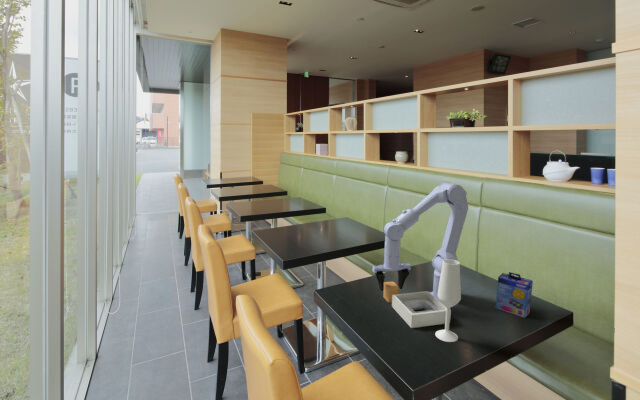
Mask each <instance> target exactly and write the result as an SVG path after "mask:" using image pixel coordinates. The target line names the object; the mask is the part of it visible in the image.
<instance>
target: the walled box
mask: <svg viewBox="0 0 640 400" xmlns="http://www.w3.org/2000/svg"><path fill="white" fill-rule="evenodd" d="M429 292H430V291H428V290H426V291H414V292H407V293H405V292H404V293H399V294H395V295H392V302H391V307H392V309H394V310H395V312H396V313H397V314H398V315H399V316H400V318H402V320H403V321H404V322H405V323H406V324H407V325H408V326H409V327H410V328H411V329H414V328H422V327H423V328H424V327H430V326H435V325H445V320H446V306H445V305H444V304H443V303H442V302H440V301H439V300H438V299H437V298H435V297H434V296H433V295H432V294H431V293H429ZM424 298H426V299H427V300H428V301H429V302H431V303H432V304H433V305H434V306H435V307H436V308H438V309H439V311H430V312H422V313H414V314H413V313H412V312H411V311H410V310H409V309H408V308H407V307H406V306H405V305H404V304H403V303H402V302H401V301H407V300H416V299H424ZM451 315H452V310H451V309H450V319H452V317H451ZM450 323H451V320H450V321H449V324H450Z"/></svg>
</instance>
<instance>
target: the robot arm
mask: <svg viewBox="0 0 640 400" xmlns="http://www.w3.org/2000/svg"><path fill="white" fill-rule="evenodd" d="M467 195H468V192H467V191H466V190H465V188H464V187H463V186H462V185H460V184H455V183H452V182H450V181H443V182H441V183H440V184H439V185H437V186H436V187H434V188H433V189H432V190H431V192H430V193H429V194H427V195H426V196H425V197H424V198H423V199H422V200H421V201H420V202H419V203H417V204H416V205H415V206H414V207H413V208H407V209H403V210H402V211H401V212H402V213H401V214H399V215H398V216H397V217H396V218H393V219H391V220H392V221H390V222H387V223H386V224H385V225H384V227H383V229H382V231H383V233H384V235H385V236H384V237H385V238H384V251H383V252H384V254H383V255H384V256H383V257H384V258H383V264H379V265H373V266H372V269H371V270H372V273H374V274H375V277H376V280H377V283H378V287H379V288H378V289H379V291H380V292H383V289H384V282H385V277H386V275H385V274H384V272H395V271H397V277H398V279H397V285H398V286H399V290H402V289H403V288H404V285H405V282H406V280H407V278H408V277H409V275H410V272H409V271H411V269H412V268H411V264H410V263H400V262H401V245H402V243H401V239H402V238H403V237H404V233H405V232H406V231H407V230H409V229H410V228H411V227H413V226H414V225H415V224H416V223H417V222H419V219H420V216H421V215H422V214H423V213H426V211H428V210H429V209H431V208H432V207H434V205H436V204H441V203H442V204H443V203H446V204H448V206H449V207H450V208H451V210H450V214H449V216H448V217H449V218H448V222H447V225H446V229H445V233H444V235H443V236H444V237H443V239H442V244H441V247H440V248H439V249H438V250H437V251H436V254H435V255H434V257H433V258H432V260H431V266H432V267H433V269H434V271H433V283H432V285H433V286H432V291H428V292H429V293H431V294H432V295H433V296H434V297H435V298H437V299H438V300H439V298H438V296H437V294H438V288H439V281H440V275H441V269H442V263H443V260H445V259H453V260H457V261H458V256H457V249H458V246H459V243H460V239H461V235H462V232H463V229H464V225H465V222H466V218H467V214H468V210H469V204H468V199H467ZM460 284H461V285H462V282H461V280H460ZM439 301H440V300H439ZM440 302H441V301H440ZM441 303H442V302H441Z"/></svg>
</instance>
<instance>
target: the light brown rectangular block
mask: <svg viewBox="0 0 640 400" xmlns="http://www.w3.org/2000/svg"><path fill="white" fill-rule="evenodd" d="M382 292H383V295H382V297H383V299H385V301H386V302H387V303H388V304H392V295H395V294H400V288H399V286H398V283H396V282H394V280H392V281H384V289H383V291H382Z"/></svg>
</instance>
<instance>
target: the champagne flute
mask: <svg viewBox="0 0 640 400" xmlns="http://www.w3.org/2000/svg"><path fill="white" fill-rule="evenodd" d="M460 281H461V263H460V261H457V260H453V259H445V260H443V263H442V269H441V275H440V281H439V288H438V294H437V296H438V298H439V300H440V301H441V303H443V304H444V305H445V306H446V320H445V324H444V329H439V330H437V331H435V334H434V335H435V337H436V338H437V339H439V340H440V341H443V342H446V343H452V342H453V343H454V342H457V341H458V339H459V336H458V334H457V333H455V332H453V331H451V330H450V323H449V321H450V322H451V318H450V310H451V308H452V307H455V306H456V305H458V304H459V303H460V302H461V300H462V294H461V293H462V291H461V290H462V289H461V286H462V283H461V284H460Z"/></svg>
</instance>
